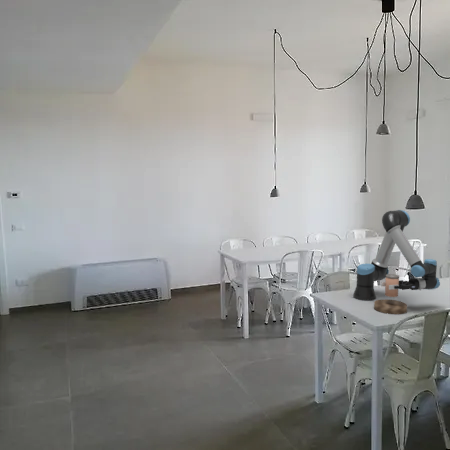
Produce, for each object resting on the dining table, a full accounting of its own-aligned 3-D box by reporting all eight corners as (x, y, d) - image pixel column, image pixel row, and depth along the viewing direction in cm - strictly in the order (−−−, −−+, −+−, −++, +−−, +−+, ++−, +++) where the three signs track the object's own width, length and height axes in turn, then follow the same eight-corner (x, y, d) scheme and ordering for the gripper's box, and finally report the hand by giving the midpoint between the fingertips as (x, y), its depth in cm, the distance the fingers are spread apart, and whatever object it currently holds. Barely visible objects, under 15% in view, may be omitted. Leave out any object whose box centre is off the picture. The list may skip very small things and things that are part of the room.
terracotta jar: (382, 294, 312) (383, 274, 310) (393, 293, 314) (394, 273, 312) (389, 297, 304) (390, 277, 303) (400, 296, 306) (401, 276, 304)
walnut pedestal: (374, 312, 303) (374, 306, 303) (373, 304, 323) (374, 298, 322) (408, 315, 298) (408, 309, 298) (405, 306, 317) (405, 300, 317)
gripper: (426, 293, 303) (394, 295, 297) (406, 285, 323) (376, 287, 317) (427, 281, 302) (395, 283, 297) (407, 274, 322) (376, 276, 317)
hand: (385, 285), depth 307 cm, fingers closed on terracotta jar, 8 cm apart
